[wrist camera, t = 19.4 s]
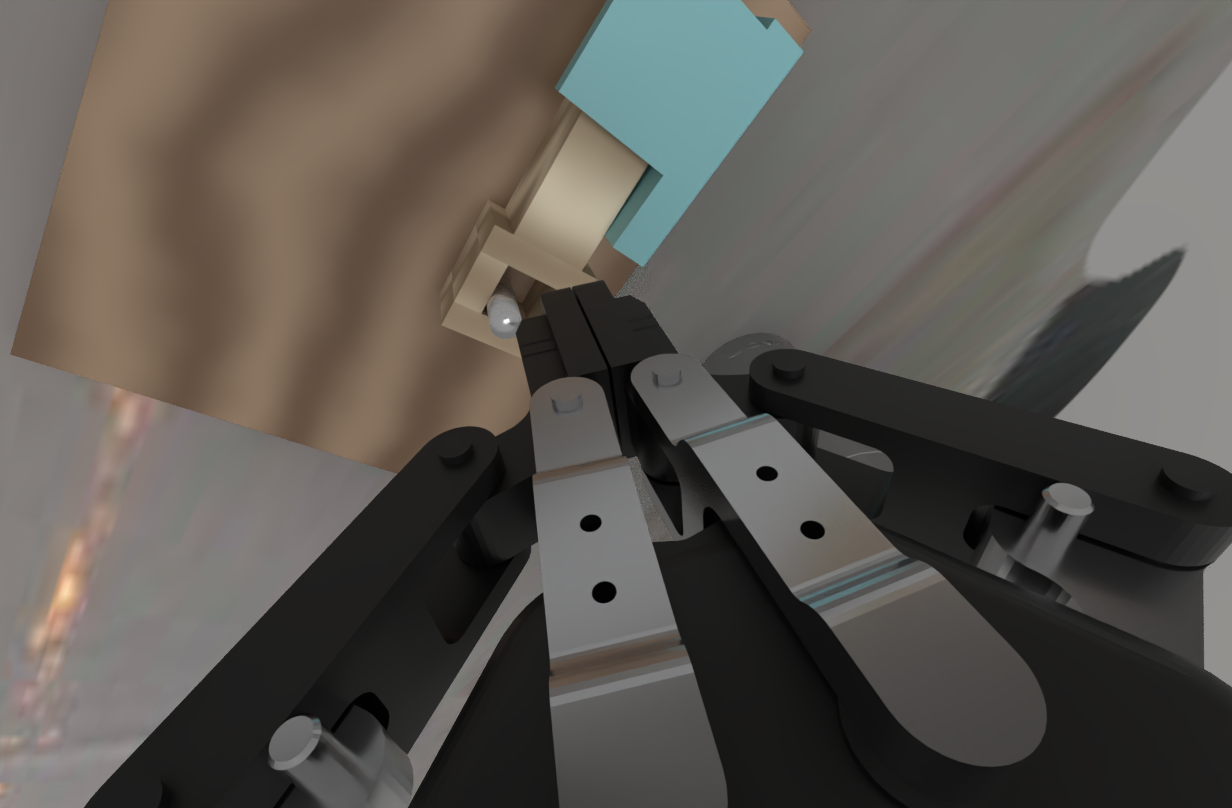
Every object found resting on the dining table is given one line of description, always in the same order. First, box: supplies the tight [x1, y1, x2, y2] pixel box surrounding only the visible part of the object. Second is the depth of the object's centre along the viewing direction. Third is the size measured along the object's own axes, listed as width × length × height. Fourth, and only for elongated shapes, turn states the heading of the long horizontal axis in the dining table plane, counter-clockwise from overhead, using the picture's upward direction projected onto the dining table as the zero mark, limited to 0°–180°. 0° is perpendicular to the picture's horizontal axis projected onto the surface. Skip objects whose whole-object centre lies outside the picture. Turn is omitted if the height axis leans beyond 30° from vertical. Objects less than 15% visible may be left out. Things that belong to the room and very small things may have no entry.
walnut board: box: [11, 0, 812, 474], centre depth 29 cm, size 26×36×1 cm
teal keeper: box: [555, 0, 803, 267], centre depth 27 cm, size 8×12×6 cm
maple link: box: [440, 97, 648, 358], centre depth 29 cm, size 18×6×4 cm, turn 146°
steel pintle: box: [486, 268, 522, 339], centre depth 30 cm, size 2×2×6 cm
